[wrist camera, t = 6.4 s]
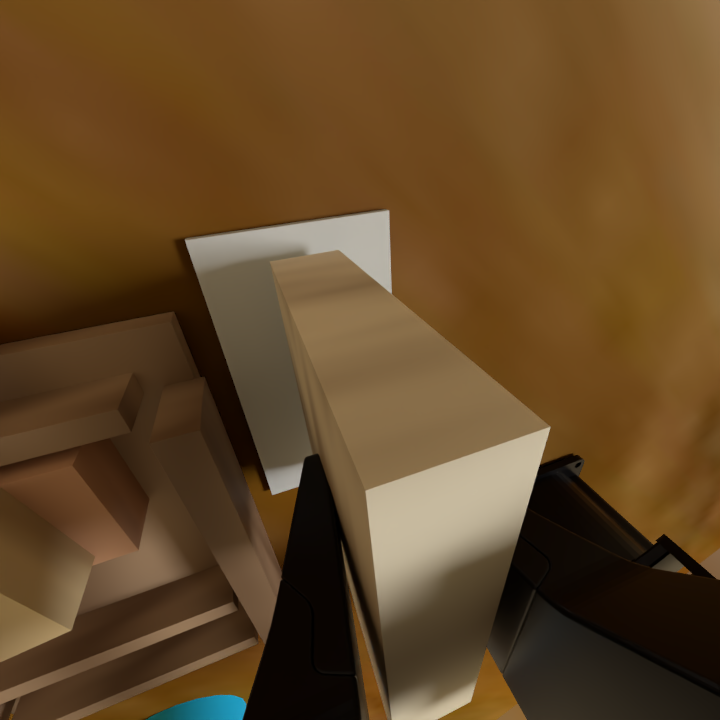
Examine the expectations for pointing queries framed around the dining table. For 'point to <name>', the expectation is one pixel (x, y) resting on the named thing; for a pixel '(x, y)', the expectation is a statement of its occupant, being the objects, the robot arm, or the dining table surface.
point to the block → (409, 476)
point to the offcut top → (36, 578)
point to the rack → (162, 523)
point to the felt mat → (276, 320)
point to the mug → (205, 709)
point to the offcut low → (83, 496)
